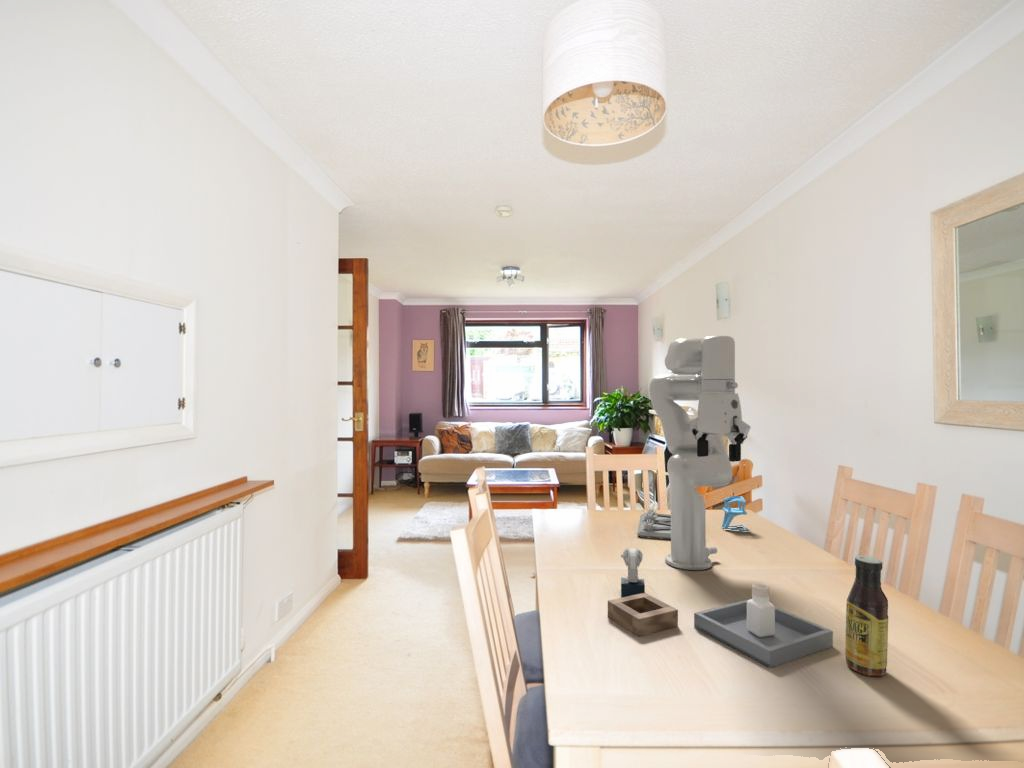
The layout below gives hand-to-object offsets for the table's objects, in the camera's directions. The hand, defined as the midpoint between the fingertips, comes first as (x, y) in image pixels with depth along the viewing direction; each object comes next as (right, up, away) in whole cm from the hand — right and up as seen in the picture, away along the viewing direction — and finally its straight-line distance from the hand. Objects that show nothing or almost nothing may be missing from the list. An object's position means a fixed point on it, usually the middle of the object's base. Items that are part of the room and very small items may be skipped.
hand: (718, 458), depth 126 cm
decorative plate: (+7, -35, +62) cm, 71 cm away
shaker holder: (-22, -33, -13) cm, 42 cm away
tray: (+1, -33, -20) cm, 39 cm away
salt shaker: (+1, -33, -20) cm, 38 cm away
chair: (+30, -34, +61) cm, 76 cm away
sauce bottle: (+14, -33, -33) cm, 48 cm away
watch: (-20, -34, +2) cm, 39 cm away
